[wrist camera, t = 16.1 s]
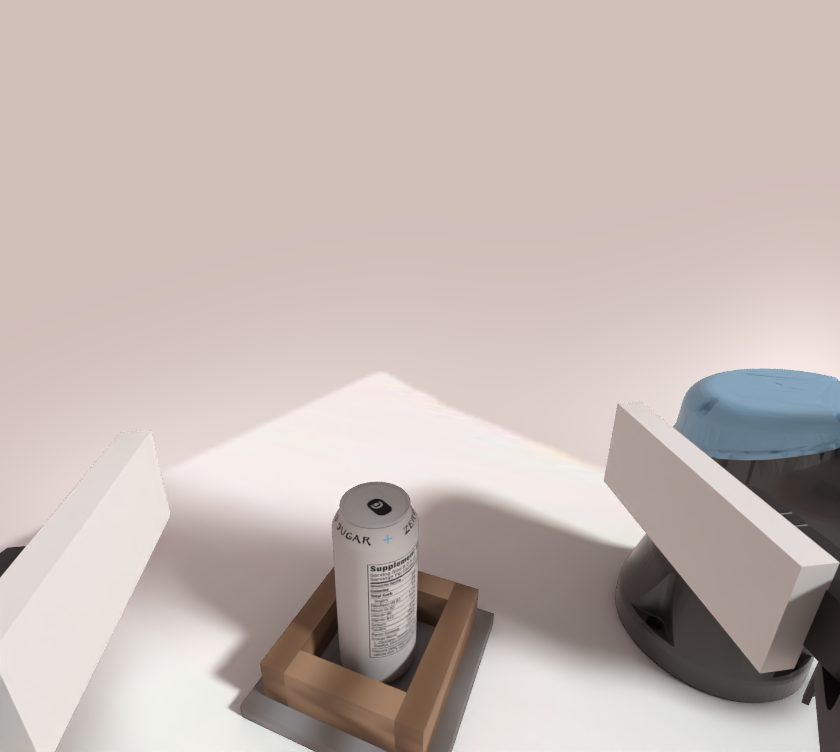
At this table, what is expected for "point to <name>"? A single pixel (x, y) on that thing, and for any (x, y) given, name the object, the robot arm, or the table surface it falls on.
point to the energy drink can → (376, 580)
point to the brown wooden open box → (367, 698)
